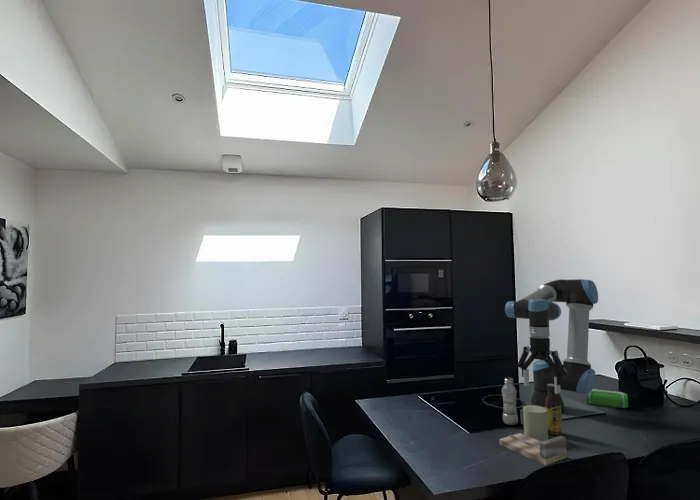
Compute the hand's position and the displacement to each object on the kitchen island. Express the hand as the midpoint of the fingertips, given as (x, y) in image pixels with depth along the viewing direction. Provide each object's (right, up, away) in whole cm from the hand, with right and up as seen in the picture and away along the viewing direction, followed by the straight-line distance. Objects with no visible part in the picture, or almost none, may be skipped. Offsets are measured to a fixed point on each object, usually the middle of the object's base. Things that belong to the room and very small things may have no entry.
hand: (541, 389), depth 164 cm
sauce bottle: (+7, -20, +3) cm, 21 cm away
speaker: (+50, -21, +36) cm, 65 cm away
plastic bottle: (-7, -21, +14) cm, 26 cm away
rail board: (-10, -19, -13) cm, 25 cm away
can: (-3, -20, -1) cm, 20 cm away
